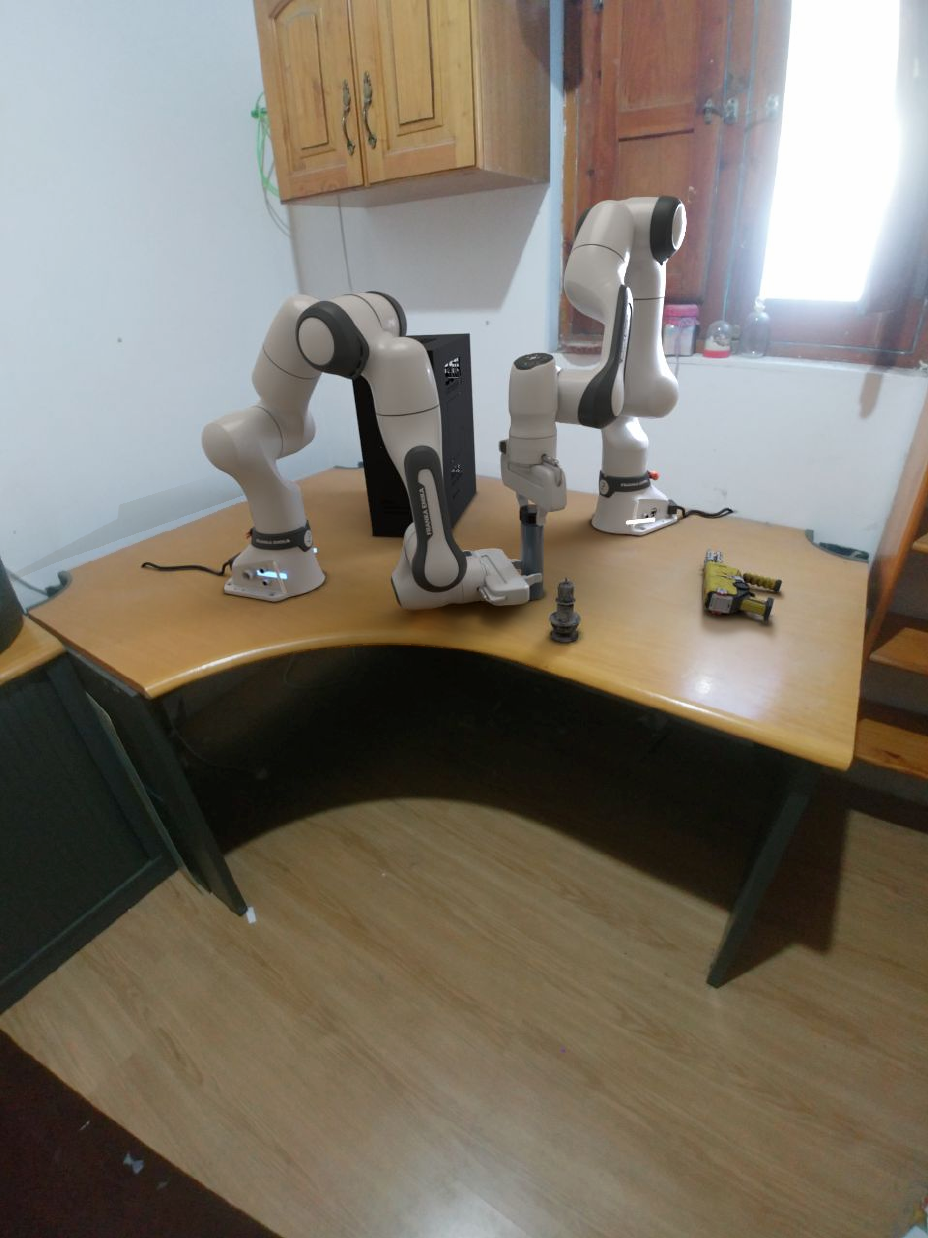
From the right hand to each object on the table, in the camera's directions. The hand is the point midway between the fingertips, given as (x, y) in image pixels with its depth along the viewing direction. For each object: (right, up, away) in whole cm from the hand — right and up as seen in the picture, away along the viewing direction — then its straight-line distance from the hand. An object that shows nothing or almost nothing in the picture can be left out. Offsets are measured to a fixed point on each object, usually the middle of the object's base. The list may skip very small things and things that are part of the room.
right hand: (532, 519), depth 119 cm
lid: (0, +2, -1) cm, 2 cm away
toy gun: (+43, -15, +4) cm, 46 cm away
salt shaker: (+5, -23, -6) cm, 24 cm away
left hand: (+1, -10, +6) cm, 11 cm away
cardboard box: (-24, +11, +55) cm, 61 cm away
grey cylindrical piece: (+1, -15, +8) cm, 17 cm away
